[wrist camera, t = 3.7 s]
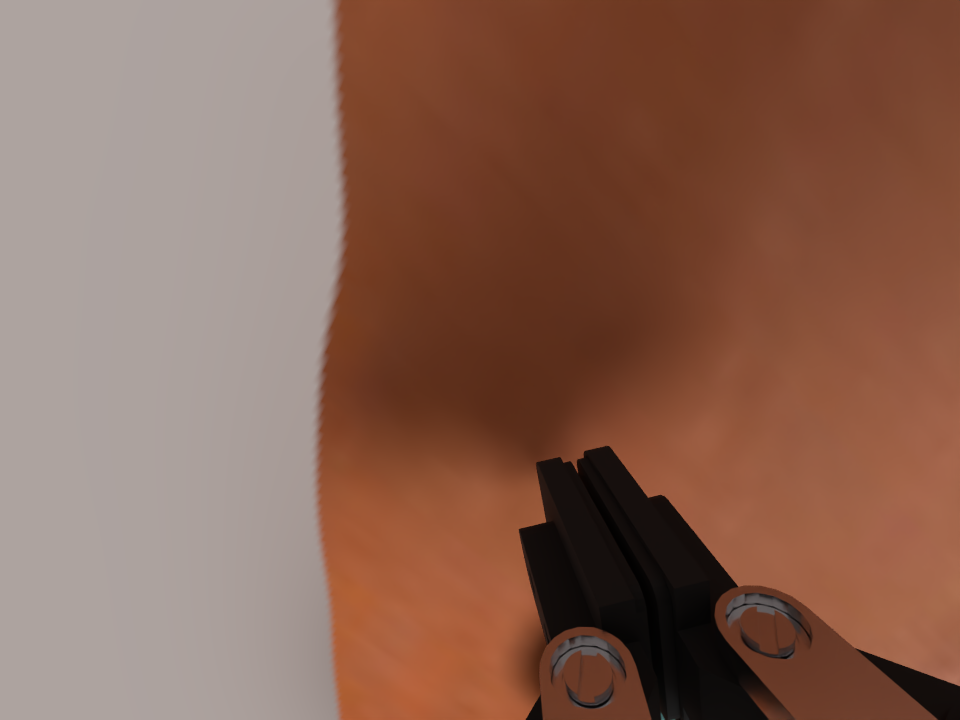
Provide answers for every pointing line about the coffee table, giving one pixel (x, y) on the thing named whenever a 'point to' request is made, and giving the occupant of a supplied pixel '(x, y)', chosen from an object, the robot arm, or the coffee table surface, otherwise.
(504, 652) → the coffee table surface
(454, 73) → the coffee table surface
